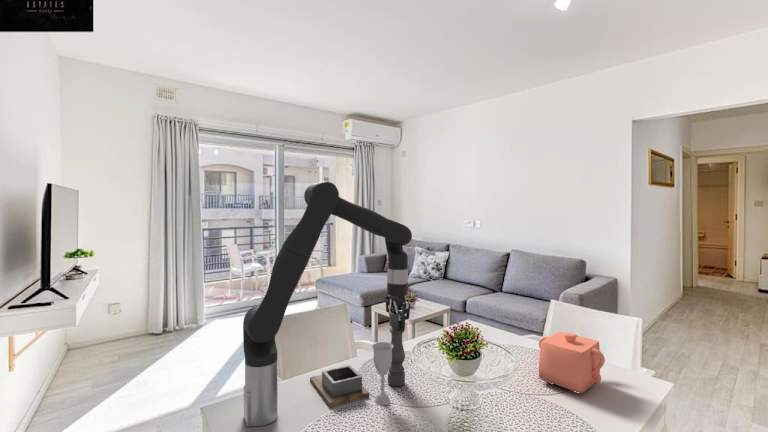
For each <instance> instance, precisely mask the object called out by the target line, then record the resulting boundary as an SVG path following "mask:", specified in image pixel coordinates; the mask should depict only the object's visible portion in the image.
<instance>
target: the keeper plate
mask: <svg viewBox="0 0 768 432" xmlns="http://www.w3.org/2000/svg"><path fill="white" fill-rule="evenodd" d="M309 382H310V384H311V385H312V386H313V388H314V389H315V390H316V392H317V393H318V394H319V396H320V398H322V399H323V401H324V402H325V403H326V405H327V406H328V408H333V407H336V406H341V405H344V404H348V403H351V402H356V401H360V400H363V399H367V398H370V392H369V391H368V390H367V389H366V388H365V387H364V386H363V385H362V392H358V393H354V394H350V395H346V396H342V397H338V398H334V399H333V398H332V397H331V396H330V395H329V393H328V392H327V391H326V390H325V388H324V387H323V386H322V374H320V375H315V376H310V377H309Z"/></svg>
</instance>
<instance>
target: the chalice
mask: <svg viewBox="0 0 768 432" xmlns="http://www.w3.org/2000/svg"><path fill="white" fill-rule="evenodd" d="M371 348H372V350H373V364H374V367H375V370H376V371H377V373H378V374H379V375H380V376H381V378H380V380H379V381H380V385H379V387H380V391H379V392H378V393H377V394H376V397H375V399H374V402H375V403H376V404H377V405H379V406H383V405H384V406H385V405H388V404H390V403H391V399H390V396H389V394H388V393H387V392H385V387H386V385H385V382H386V379H385V376H386V375H388V371H389V368H390V365H391V362H392V348H393V344H391V342H386V341H385V342H384V341H383V342H376V343H374V344H373V345H372V347H371Z"/></svg>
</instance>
